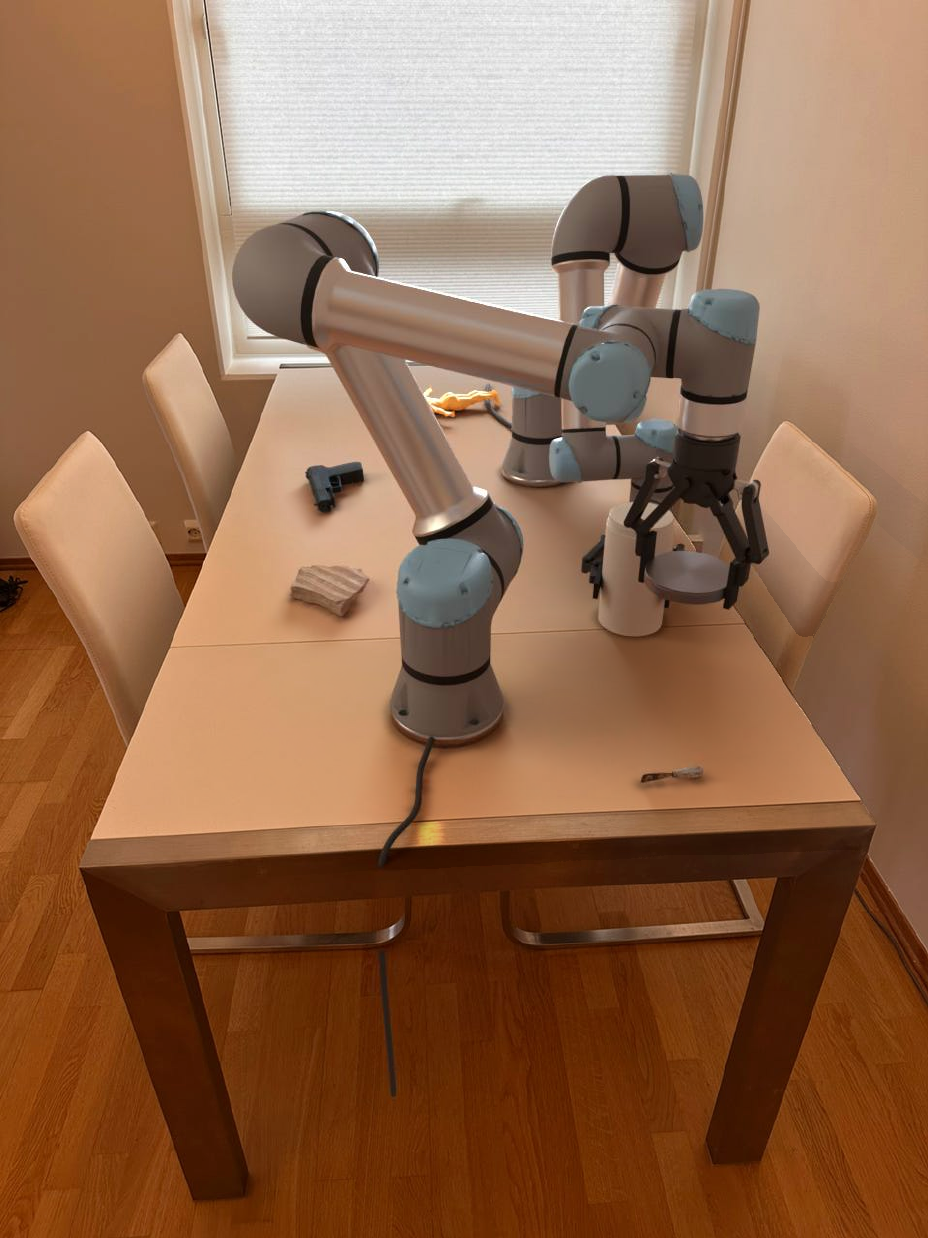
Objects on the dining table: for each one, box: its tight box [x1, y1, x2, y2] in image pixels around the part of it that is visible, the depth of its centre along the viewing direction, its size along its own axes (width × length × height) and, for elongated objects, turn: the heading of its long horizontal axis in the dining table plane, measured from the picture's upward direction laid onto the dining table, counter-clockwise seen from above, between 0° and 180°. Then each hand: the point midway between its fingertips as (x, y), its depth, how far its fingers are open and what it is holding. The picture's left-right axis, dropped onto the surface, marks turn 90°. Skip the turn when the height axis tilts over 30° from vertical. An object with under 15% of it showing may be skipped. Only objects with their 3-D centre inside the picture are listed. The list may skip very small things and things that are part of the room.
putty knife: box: [640, 765, 705, 784], centre depth 109 cm, size 1×8×2 cm, turn 103°
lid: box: [644, 550, 730, 606], centre depth 115 cm, size 11×11×2 cm
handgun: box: [304, 461, 365, 513], centre depth 182 cm, size 3×18×12 cm
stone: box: [289, 564, 370, 617], centre depth 147 cm, size 13×12×2 cm
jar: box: [597, 501, 676, 638], centre depth 136 cm, size 10×10×18 cm
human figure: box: [423, 385, 500, 418], centre depth 225 cm, size 20×20×4 cm
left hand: (686, 591), depth 116 cm, fingers closed on lid, 11 cm apart
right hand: (631, 595), depth 134 cm, fingers closed on jar, 10 cm apart
